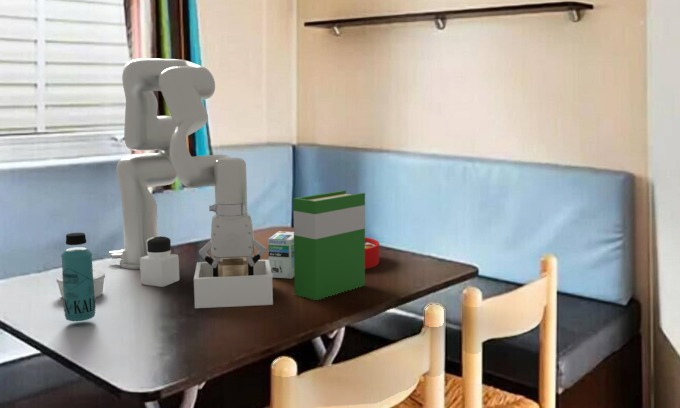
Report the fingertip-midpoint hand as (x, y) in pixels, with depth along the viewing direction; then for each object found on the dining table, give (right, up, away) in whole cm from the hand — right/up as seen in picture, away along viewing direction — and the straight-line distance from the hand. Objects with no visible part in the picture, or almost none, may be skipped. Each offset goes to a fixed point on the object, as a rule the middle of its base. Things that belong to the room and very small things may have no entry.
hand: (233, 281), depth 178 cm
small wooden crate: (0, -1, 0) cm, 1 cm away
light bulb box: (+11, 0, +22) cm, 25 cm away
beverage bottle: (-31, -7, -19) cm, 36 cm away
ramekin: (-38, -4, +2) cm, 38 cm away
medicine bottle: (-21, -2, +14) cm, 25 cm away
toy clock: (+27, +2, +35) cm, 44 cm away
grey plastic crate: (0, -4, +1) cm, 4 cm away
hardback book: (+23, -3, +6) cm, 24 cm away
